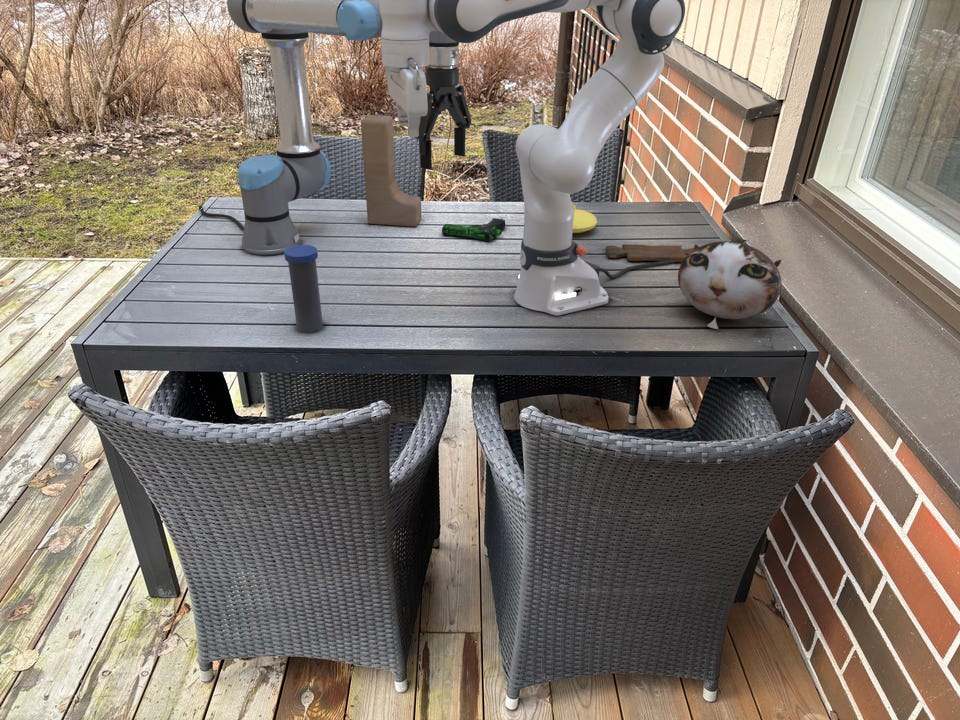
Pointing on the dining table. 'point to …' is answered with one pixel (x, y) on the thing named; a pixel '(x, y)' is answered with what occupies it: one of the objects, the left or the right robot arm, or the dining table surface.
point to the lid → (301, 254)
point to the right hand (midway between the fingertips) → (408, 130)
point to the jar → (306, 296)
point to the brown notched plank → (648, 252)
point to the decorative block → (385, 176)
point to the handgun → (476, 230)
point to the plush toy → (729, 280)
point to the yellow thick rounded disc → (583, 221)
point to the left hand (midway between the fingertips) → (443, 161)
